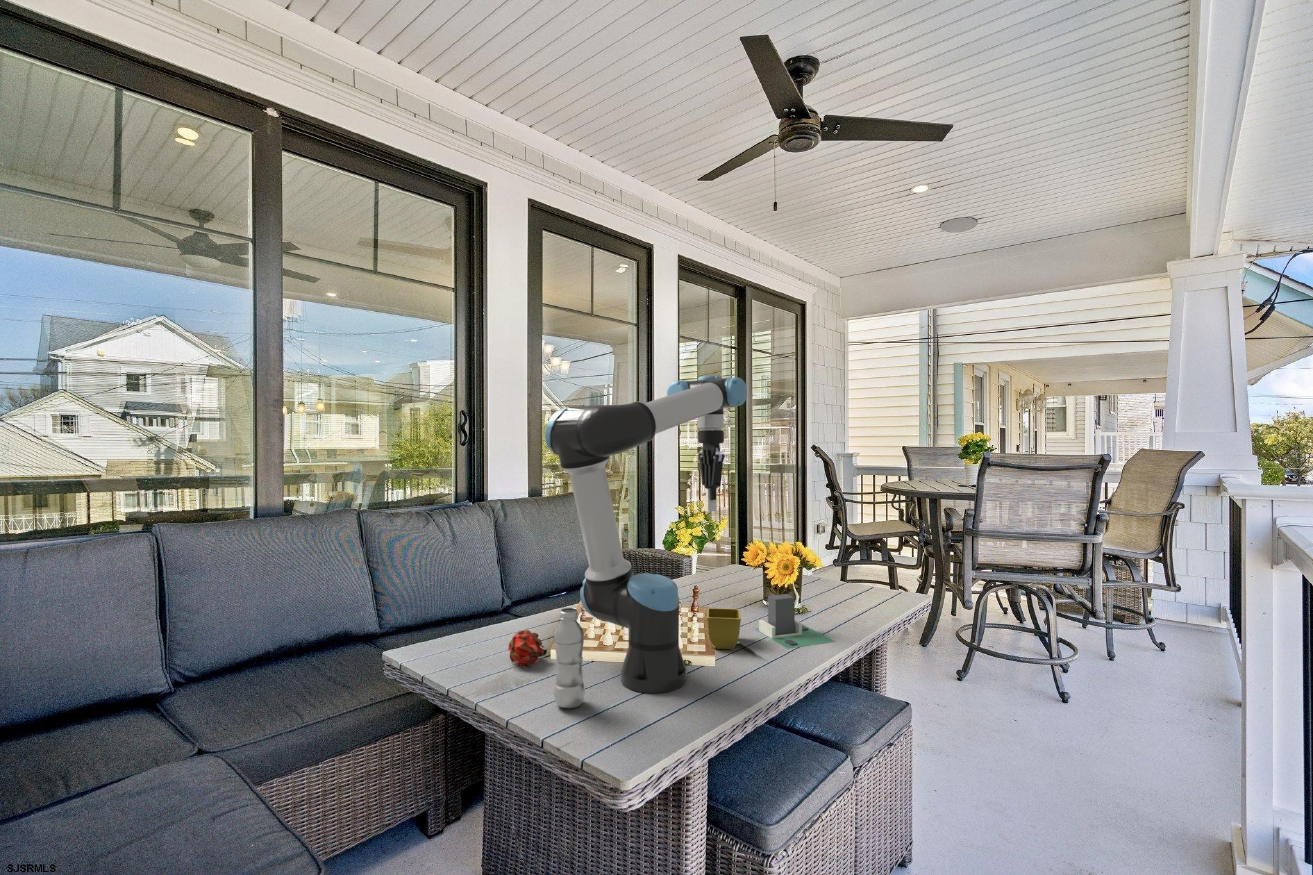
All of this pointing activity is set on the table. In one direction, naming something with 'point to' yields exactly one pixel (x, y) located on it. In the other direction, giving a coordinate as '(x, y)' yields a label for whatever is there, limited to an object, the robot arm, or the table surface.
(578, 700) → the plastic bottle
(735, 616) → the flower pot
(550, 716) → the table surface
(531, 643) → the dragon fruit
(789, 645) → the board
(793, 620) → the plug
